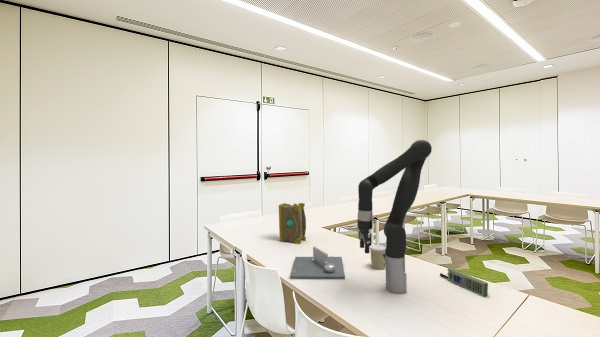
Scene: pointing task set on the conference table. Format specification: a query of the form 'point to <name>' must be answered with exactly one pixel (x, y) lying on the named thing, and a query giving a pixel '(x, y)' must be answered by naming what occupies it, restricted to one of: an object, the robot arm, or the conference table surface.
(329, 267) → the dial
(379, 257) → the coffee cup
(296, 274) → the dial plate
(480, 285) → the handheld radio
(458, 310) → the conference table surface
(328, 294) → the conference table surface
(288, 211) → the decorative book
